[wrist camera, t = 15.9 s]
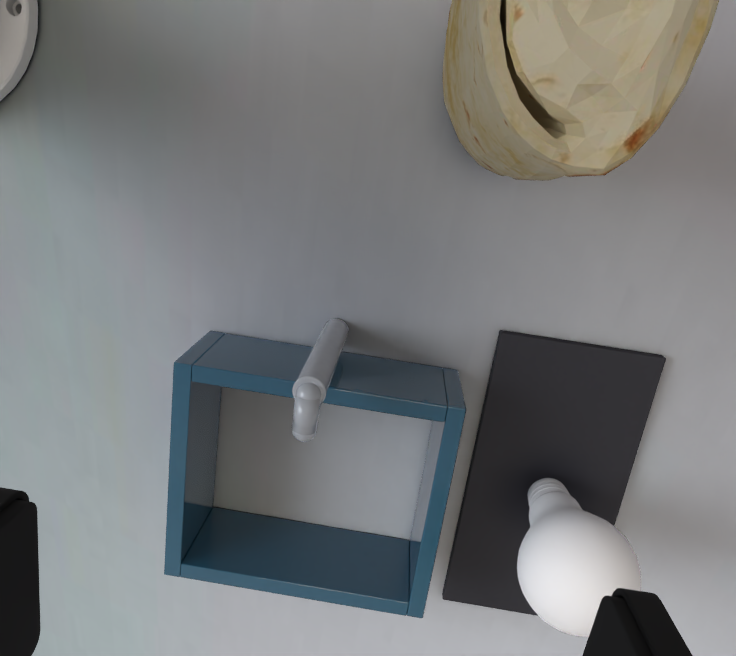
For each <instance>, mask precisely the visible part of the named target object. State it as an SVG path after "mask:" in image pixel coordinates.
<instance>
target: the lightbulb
mask: <svg viewBox="0 0 736 656" xmlns="http://www.w3.org/2000/svg"><path fill="white" fill-rule="evenodd" d="M527 496H528V503H529V508H530V509H529V522H530V529H529V530H528V532H527V533H526V535H525V537H524V539H523V541H522V543H521V546H520V548H519V552H518V560H517V574H518V580H519V584H520V587H521V590H522V593H523V594H524V596H525V598H526V600H527V601H528V603H529V605H530V606H531V608H532V609H533V610H534V611H535V612H536V614H537V615H538V616H539V617H540V618H541V619H542V620H543V621H545V622H546V623H547V624H549V625H550V626H552V627H554V628H555V629H557V630H559V631H562V632H564V633H566V634H570V635H574V636H579V637H589V635H590V632H591V629H592V626H593V623H594V620H595V617H596V614H597V611H598V608H599V605H600V602H601V600H602V598H603V597H604V596H607V595H608V596H612V594H613V592H614V591H615V590H616V589H617V588H624V589H630V590H636V591H641V571H640V567H639V563H638V559H637V556H636V554H635V552H634V550H633V549H632V547H631V545H630V543H629V541H628V540H627V539H626V538H625V537H624V535H623V534H622V533H621V532H620V531H619V530H618V529H617V528H616V527H615V526H613V525H612V524H610V523H609V522H608V521H606V520H604V519H602V518H600V517H598V516H596V515H593V514H591V513H589V512H586V511H583V510H582V508H581V507H580V505H579V503H578V502H577V501H576V500H575V499H574V498H573V497H572V496H570V494H569V492H568V491H567V489H566V488H565V486H564V485H563V484H562V483H561V482H560V481H558V480H556V479H553V478H543V479H540V480H538V481H536V482H534V483H533V484H532V485H531V487H530V488H529V490H528V495H527Z"/></svg>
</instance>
